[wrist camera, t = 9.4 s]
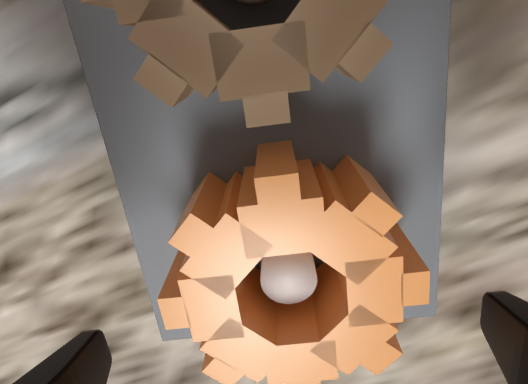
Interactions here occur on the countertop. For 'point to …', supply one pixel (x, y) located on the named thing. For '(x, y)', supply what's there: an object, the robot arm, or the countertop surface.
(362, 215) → the orange gear
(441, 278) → the countertop surface
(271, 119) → the birch gear
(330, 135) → the gear board
